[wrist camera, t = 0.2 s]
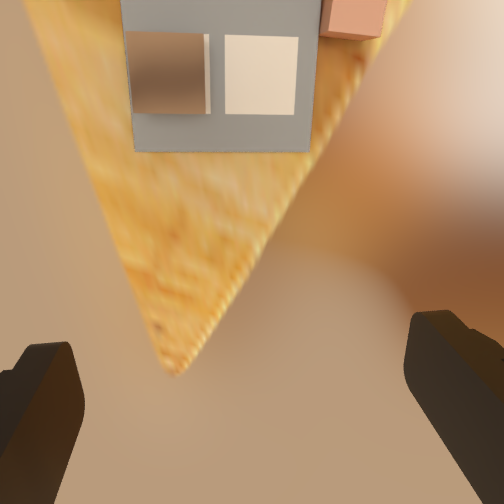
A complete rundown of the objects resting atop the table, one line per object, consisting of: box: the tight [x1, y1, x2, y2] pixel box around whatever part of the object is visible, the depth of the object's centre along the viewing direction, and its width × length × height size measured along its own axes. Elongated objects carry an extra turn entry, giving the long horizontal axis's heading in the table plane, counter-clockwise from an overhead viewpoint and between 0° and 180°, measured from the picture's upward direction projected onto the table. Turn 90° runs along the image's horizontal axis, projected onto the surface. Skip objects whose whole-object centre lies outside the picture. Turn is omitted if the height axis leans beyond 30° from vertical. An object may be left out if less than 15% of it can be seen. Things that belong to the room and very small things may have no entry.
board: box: [120, 0, 321, 152], centre depth 32 cm, size 12×15×1 cm
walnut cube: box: [125, 31, 206, 114], centre depth 29 cm, size 5×5×5 cm
